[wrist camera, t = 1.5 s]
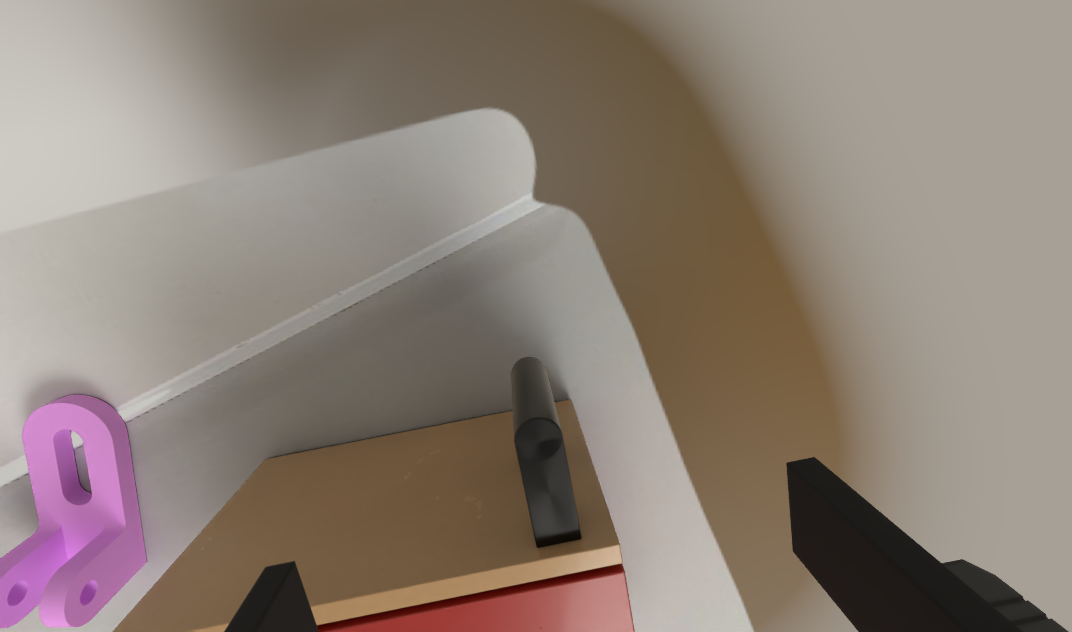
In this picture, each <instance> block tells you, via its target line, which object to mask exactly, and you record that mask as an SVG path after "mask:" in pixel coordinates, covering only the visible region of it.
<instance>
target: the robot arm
mask: <svg viewBox="0 0 1072 632" xmlns="http://www.w3.org/2000/svg"><path fill="white" fill-rule="evenodd" d="M787 476H788V491H789V503H790V517H791V531H792V545H793V552H794V553H795V554H796V555H797V557H798V558H799V559H800V561H801V562H802V563H803V564H804V565H805V567H806V568H807V569H808V570H809V571H810V573H811V574H812V575H813V576H814V578H815V579H816V580H817V581H818V583H819V584H820V585H821V586H822V587H823V589H824V590H825V591H826V592H827V593H828V595H829V596H830V597H831V598H832V600H833V601H834V602H835V603H836V604H837V606H838V607H839V608H840V609H841V611H842V612H843V613H844V614H845V616H846V617H847V618H848V619H849V620H850V621H851V623H852V624H853V625H854V626H855V628H856V629H857V630H858V631H859V632H1068V631H1067V630H1066V629H1064V628H1063V627H1062V626H1060V625H1059V624H1058V623H1057V622H1055V621H1054V620H1053V619H1048V618H1047V617H1046V614H1045V613H1044V612H1042V611H1041V610H1040V609H1038V608H1037V607H1036V606H1034V605H1033V604H1032V603H1030V602H1029V601H1025V600H1024V599H1023V596H1021V595H1020V594H1019V593H1018V592H1016V591H1015V590H1014V589H1012V588H1011V587H1010V586H1009V585H1007V584H1006V583H1005V582H1003V581H1002V580H1001V579H999V578H998V577H997V576H996V575H994V574H992V573H989V572H987V571H985V570H983V569H981V568H979V567H977V566H975V565H973V564H971V563H969V562H967V561H965V560H962V559H961V560H957V561H951V562H946V563H940V562H939V561H938V560H937V559H936V558H934V557H933V556H932V555H931V554H930V553H928V552H927V551H926V550H925V549H924V548H922V547H921V546H920V545H919V544H917V543H916V542H915V541H914V540H913V539H911V538H910V537H909V536H908V535H907V534H906V533H904V532H903V531H902V530H901V529H900V528H899V527H897V526H896V525H895V524H894V523H893V522H891V521H890V520H889V519H888V518H887V517H885V516H884V515H883V514H882V513H881V512H879V511H878V510H877V509H876V508H874V507H873V506H872V505H871V504H870V503H868V502H867V501H866V500H865V499H864V498H863V497H861V496H860V495H859V494H858V493H857V492H856V491H854V490H853V489H852V488H851V487H850V486H848V485H847V484H846V483H845V482H844V481H842V480H841V479H840V478H839V477H838V476H836V475H835V474H834V473H833V472H832V471H830V470H829V469H828V468H827V467H826V466H824V465H823V464H822V463H821V462H820V461H819V460H817V459H816V458H815V457H813V458H808V459H803V460H798V461H793V462H788V463H787ZM224 632H319V631H318V628H317V625H316V622H315V619H314V616H313V613H312V610H311V607H310V604H309V601H308V598H307V595H306V592H305V589H304V587H303V584H302V581H301V578H300V575H299V572H298V569H297V566H296V563H295V561H292V562H287V563H282V564H277V565H272V566H267V567H265V568H264V570H263V571H262V573H261V575H260V576H259V578H258V579H257V581H256V582H255V584H254V586H253V587H252V589H251V590H250V592H249V593H248V595H247V597H246V598H245V600H244V601H243V603H242V604H241V606H240V608H239V609H238V611H237V612H236V614H235V615H234V617H233V618H232V620H231V622H230V623H229V625H228V626H227V628H226V629H225V631H224Z"/></svg>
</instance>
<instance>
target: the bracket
mask: <svg viewBox="0 0 1072 632" xmlns="http://www.w3.org/2000/svg"><path fill="white" fill-rule="evenodd" d="M70 430H72V431H74V432H76V433H77V434H79V435H80V436H81V438H82V440H83V444H84V450H85V456H86V461H87V467H88V473H89V479H90V485H91V491H92V493H89V492H87V491H85V490H84V489H83V488H82V487H81V486H80V483H79V479H78V473H77V467H76V462H75V456H74V450H73V445H72V439H71V433H70ZM22 439H23V445H24V450H25V455H26V460H27V464H28V470H29V475H30V480H31V485H32V490H33V495H34V500H35V505H36V510H37V515H38V520H39V527H38V529H37V531H36V532H35V533H34V534H33V535H32V536H31V537H29V538H28V539H26V540H25V541H24V542H22V543H21V544H20V545H18V546H17V547H16V548H14V549H13V550H11V551H10V552H9V553H7V554H6V555H5V556H3V557H2V558H0V628H7V627H10V626H12V625H14V624H16V623H18V622H19V621H21V620H22V619H23V618H24V617H25V616H26V615H27V614H29V613H30V612H31V611H32V610H33V609H34V608H35V607H36V606H38V605H39V604H40V606H39V615H40V619H41V621H42V623H43V624H44V625H45V626H47V627H79V626H82V625H84V624H86V623H87V622H89V621H90V620H91V619H92V618H93V617H94V616H95V615H96V614H97V613H98V612H99V611H100V610H101V609H102V608H103V607H104V606H105V605H106V604H107V603H108V602H109V601H110V600H111V599H112V597H113V596H114V595H115V594H116V593H117V592H118V591H119V590H120V589H121V588H122V587H123V586H124V585H125V584H126V583H127V582H128V581H129V580H130V579H131V578H132V577H133V576H134V575H135V574H136V572H137V571H138V570H139V569H140V568H141V567H142V566H143V565H144V564H145V563H146V562H147V559H146V553H145V546H144V539H143V532H142V526H141V519H140V512H139V505H138V498H137V492H136V485H135V478H134V471H133V465H132V458H131V451H130V444H129V438H128V432H127V428H126V425H125V423H124V421H123V419H122V417H121V416H120V415H119V414H118V412H117V411H116V410H115V409H114V408H112V407H111V406H110V405H109V404H107V403H105V402H104V401H102V400H100V399H97V398H95V397H91V396H87V395H69V396H65V397H62V398H59V399H57V400H55V401H53V402H51V403H49V404H46V405H44V406H42V407H40V408H38V409H37V410H35V411H34V412H33V413H32V414H31V415H30V416H29V417H28V418H27V420H26V422H25V424H24V427H23V432H22Z"/></svg>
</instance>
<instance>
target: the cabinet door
mask: <svg viewBox="0 0 1072 632" xmlns="http://www.w3.org/2000/svg"><path fill="white" fill-rule="evenodd" d="M511 385H512V405H513V411H509V412H503V413H498V414H493V415H488V416H483V417H478V418H473V419H468V420H463V421H458V422H453V423H447V424H442V425H437V426H432V427H427V428H422V429H417V430H412V431H407V432H402V433H397V434H392V435H386V436H381V437H376V438H371V439H366V440H361V441H356V442H351V443H346V444H341V445H336V446H330V447H325V448H320V449H315V450H310V451H305V452H300V453H295V454H290V455H285V456H280V457H274V458H269V459H265V461H264V462H263V463H262V464H261V465H260V466H259V467H258V468H257V470H256V471H255V472H254V473H253V474H252V475H251V476H250V477H249V479H248V480H247V481H246V482H245V483H244V484H243V485H242V486H241V488H240V489H239V490H238V491H237V492H236V493H235V494H234V495H233V497H232V498H231V499H230V500H229V501H228V502H227V503H226V504H225V506H224V507H223V508H222V509H221V510H220V511H219V512H218V513H217V515H216V516H215V517H214V518H213V519H212V520H211V521H210V523H209V524H208V525H207V526H206V527H205V528H204V529H203V530H202V532H201V533H200V534H199V535H198V536H197V537H196V538H195V539H194V541H193V542H192V543H191V544H190V545H189V546H188V547H187V548H186V550H185V551H184V552H183V553H182V554H181V555H180V556H179V557H178V559H177V560H176V561H175V562H174V563H173V564H172V565H171V566H170V568H169V569H168V570H167V571H166V572H165V573H164V574H163V575H162V577H161V578H160V579H159V580H158V581H157V582H156V583H155V584H154V586H153V587H152V588H151V589H150V590H149V591H148V592H147V594H146V595H145V596H144V597H143V598H142V599H141V600H140V601H139V603H138V604H137V605H136V606H135V607H134V608H133V609H132V610H131V612H130V613H129V614H128V615H127V616H126V617H125V618H124V619H123V621H122V622H121V623H120V624H119V625H118V626H117V627H116V628H115V630H114V631H113V632H224V631H225V629H226V628H227V626H228V625H229V623H230V622H231V620H232V618H233V617H234V615H235V614H236V612H237V611H238V609H239V608H240V606H241V604H242V603H243V601H244V600H245V598H246V597H247V595H248V593H249V592H250V590H251V589H252V587H253V586H254V584H255V582H256V581H257V579H258V578H259V576H260V575H261V573H262V571H263V570H264V568H265V567H267V566H272V565H277V564H282V563H287V562H292V561H295V563H296V566H297V569H298V572H299V575H300V578H301V581H302V584H303V587H304V589H305V592H306V595H307V598H308V601H309V604H310V607H311V610H312V613H313V616H314V619H315V622H316V625H321V624H326V623H331V622H336V621H340V620H345V619H350V618H355V617H360V616H365V615H370V614H375V613H380V612H385V611H390V610H395V609H400V608H404V607H409V606H414V605H419V604H424V603H429V602H434V601H439V600H444V599H449V598H454V597H459V596H464V595H468V594H473V593H478V592H483V591H488V590H493V589H498V588H503V587H508V586H513V585H518V584H523V583H528V582H533V581H537V580H542V579H547V578H552V577H557V576H562V575H567V574H572V573H577V572H582V571H587V570H592V569H597V568H601V567H606V566H611V565H616V564H621V563H622V562H623V561H622V555H621V549H620V543H619V541H618V538H617V535H616V532H615V529H614V526H613V523H612V520H611V517H610V514H609V511H608V508H607V505H606V502H605V499H604V496H603V493H602V490H601V487H600V484H599V481H598V478H597V475H596V472H595V469H594V466H593V463H592V460H591V457H590V454H589V451H588V448H587V445H586V442H585V439H584V436H583V433H582V430H581V427H580V424H579V421H578V418H577V415H576V412H575V409H574V406H573V403H572V400H571V399H570V400H565V401H559V402H554V398H553V394H552V390H551V386H550V382H549V378H548V374H547V370H546V367H545V365H544V364H543V363H542V362H541V361H540V360H538V359H536V358H533V357H526V358H522V359H520V360H519V361H517V362H516V363H515V364H514V366H513V368H512V371H511Z"/></svg>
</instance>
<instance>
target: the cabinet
mask: <svg viewBox="0 0 1072 632" xmlns="http://www.w3.org/2000/svg"><path fill="white" fill-rule="evenodd" d="M317 628H318V631H319V632H635V631H634V625H633V619H632V613H631V607H630V601H629V595H628V589H627V583H626V577H625V571H624V568H623V565H622V563H621V564H616V565H611V566H606V567H601V568H597V569H592V570H587V571H582V572H577V573H572V574H567V575H562V576H557V577H552V578H547V579H542V580H537V581H533V582H528V583H523V584H518V585H513V586H508V587H503V588H498V589H493V590H488V591H483V592H478V593H473V594H468V595H464V596H459V597H454V598H449V599H444V600H439V601H434V602H429V603H424V604H419V605H414V606H409V607H404V608H400V609H395V610H390V611H385V612H380V613H375V614H370V615H365V616H360V617H355V618H350V619H345V620H340V621H336V622H331V623H326V624H321V625H317Z"/></svg>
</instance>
